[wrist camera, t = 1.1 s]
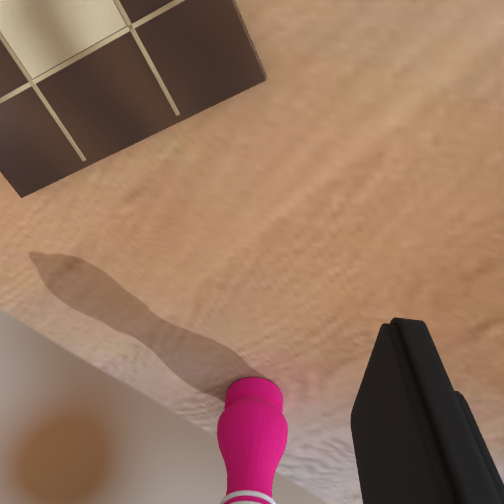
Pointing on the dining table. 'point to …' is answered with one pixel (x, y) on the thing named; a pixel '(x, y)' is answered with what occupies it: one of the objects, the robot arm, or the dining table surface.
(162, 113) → the board
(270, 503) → the pepper mill
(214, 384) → the dining table surface
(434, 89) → the dining table surface
